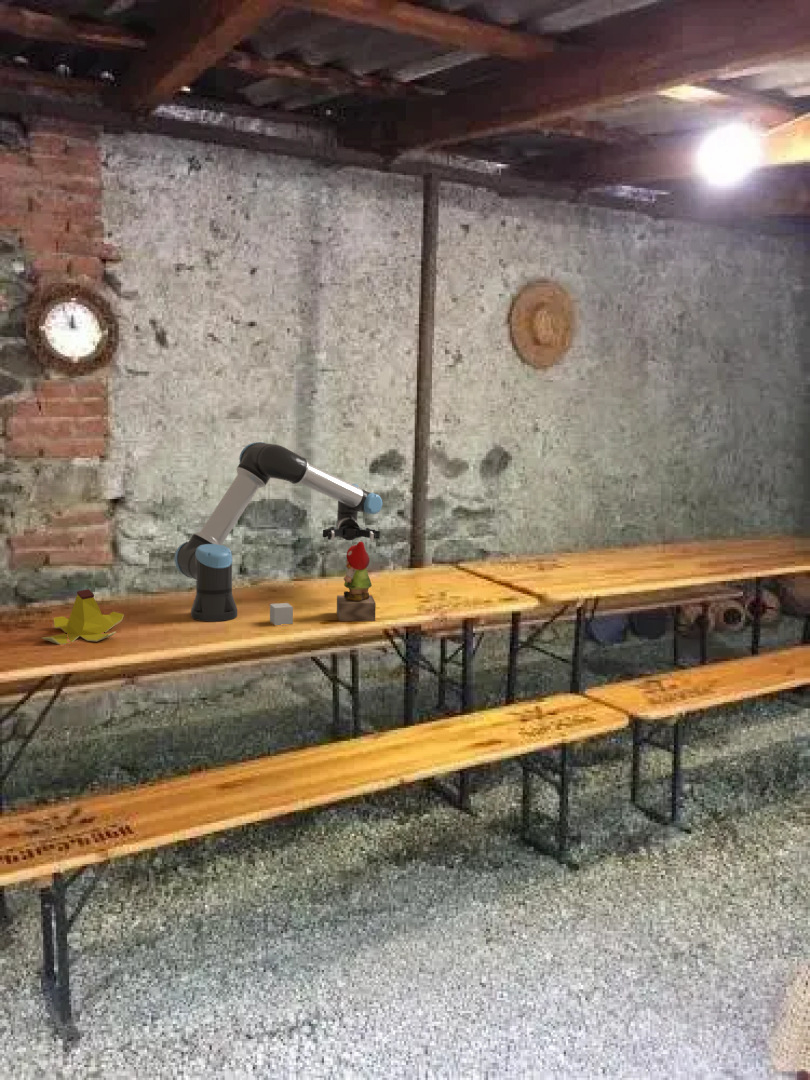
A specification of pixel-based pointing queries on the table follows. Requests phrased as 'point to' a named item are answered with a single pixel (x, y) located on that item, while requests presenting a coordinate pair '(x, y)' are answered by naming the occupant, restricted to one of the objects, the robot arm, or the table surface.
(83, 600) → the banana peel
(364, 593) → the figurine
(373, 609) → the pedestal
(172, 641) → the table surface
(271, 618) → the grey cube
